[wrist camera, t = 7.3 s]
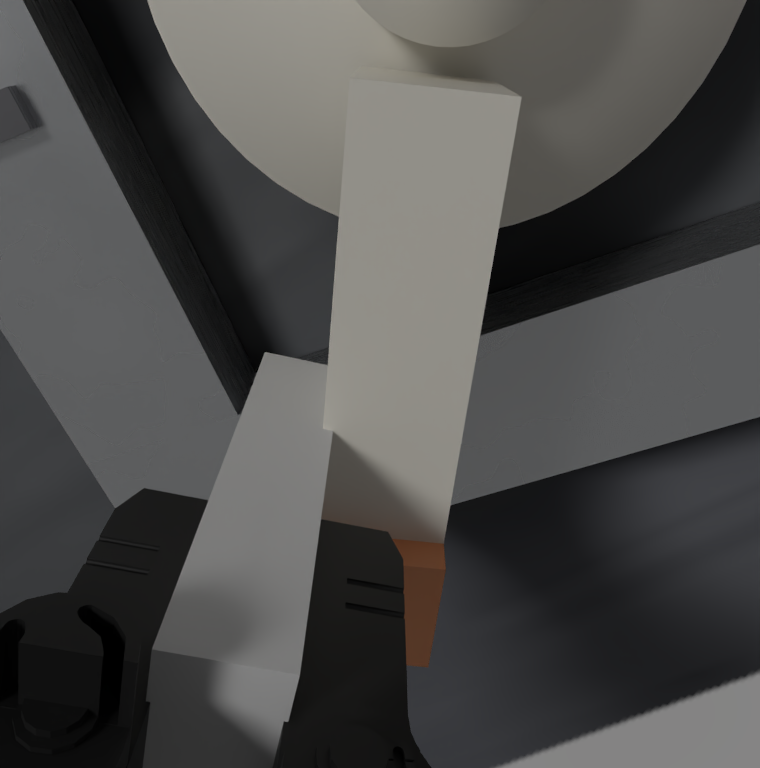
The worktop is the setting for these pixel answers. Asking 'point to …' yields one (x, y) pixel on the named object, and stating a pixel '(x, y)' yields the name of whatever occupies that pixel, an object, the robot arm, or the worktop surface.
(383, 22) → the dial
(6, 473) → the worktop surface
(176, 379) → the housing
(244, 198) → the worktop surface
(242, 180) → the worktop surface
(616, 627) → the worktop surface
